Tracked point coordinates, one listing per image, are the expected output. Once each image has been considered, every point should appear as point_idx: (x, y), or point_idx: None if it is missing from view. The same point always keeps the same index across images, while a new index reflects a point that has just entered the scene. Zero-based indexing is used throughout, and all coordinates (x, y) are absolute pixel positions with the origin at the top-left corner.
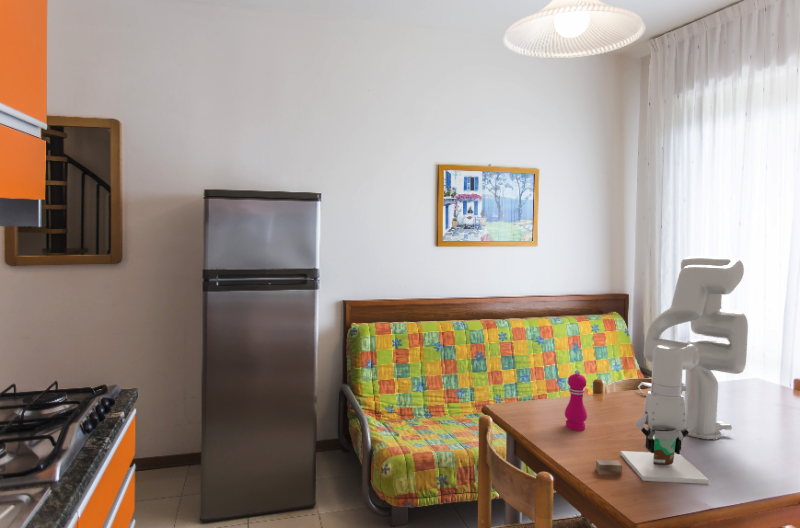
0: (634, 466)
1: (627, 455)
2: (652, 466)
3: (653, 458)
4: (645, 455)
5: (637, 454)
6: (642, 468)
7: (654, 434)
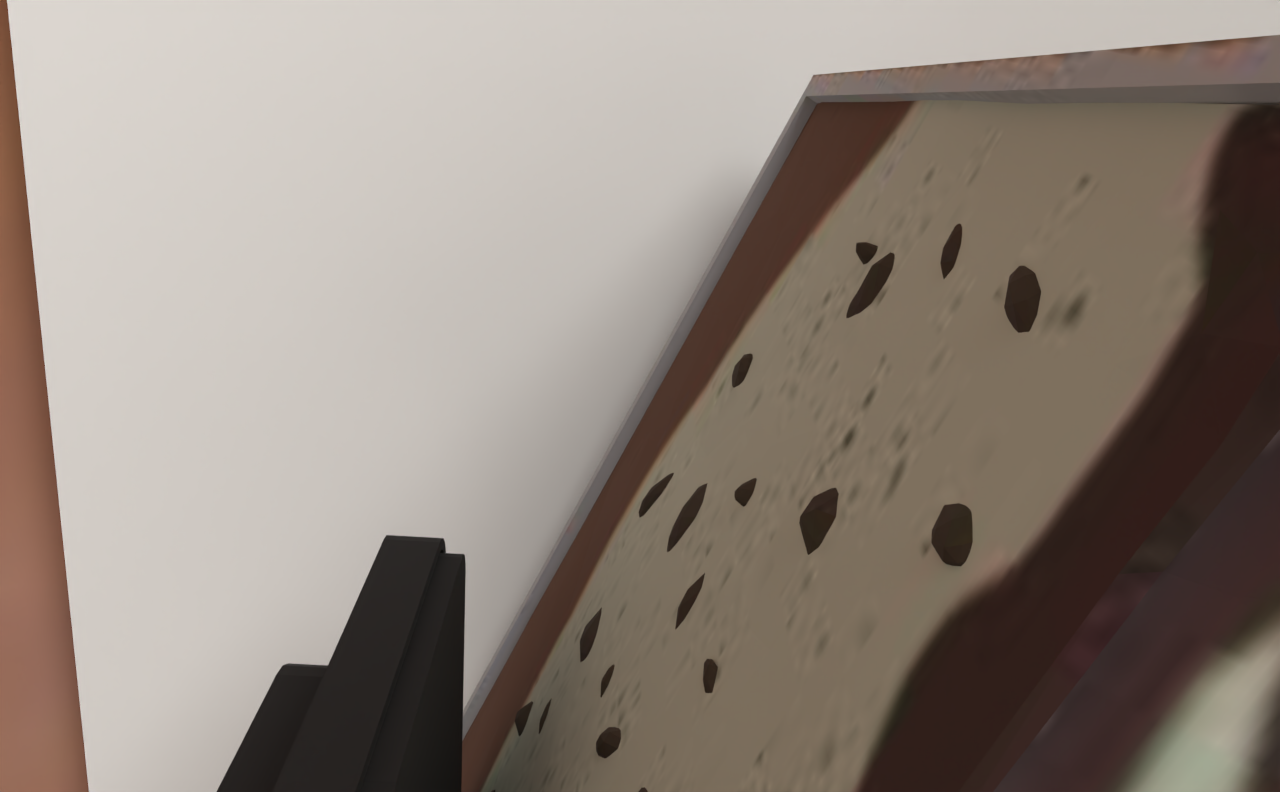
0: (76, 652)
1: (87, 102)
2: (469, 637)
3: (699, 245)
4: (576, 76)
5: (386, 18)
6: (213, 730)
7: (953, 91)
